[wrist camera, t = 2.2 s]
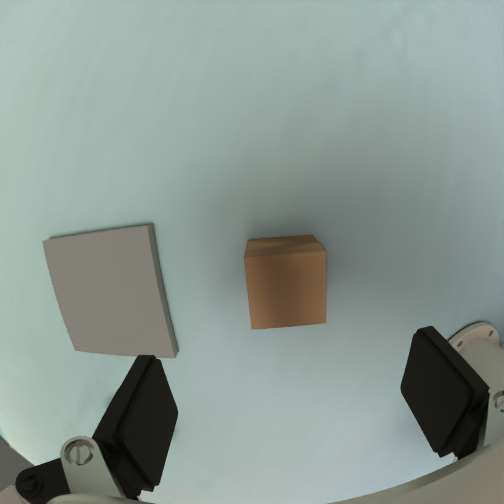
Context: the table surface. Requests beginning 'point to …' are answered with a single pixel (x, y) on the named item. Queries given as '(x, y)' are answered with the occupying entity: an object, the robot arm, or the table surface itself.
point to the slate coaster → (112, 292)
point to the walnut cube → (286, 281)
